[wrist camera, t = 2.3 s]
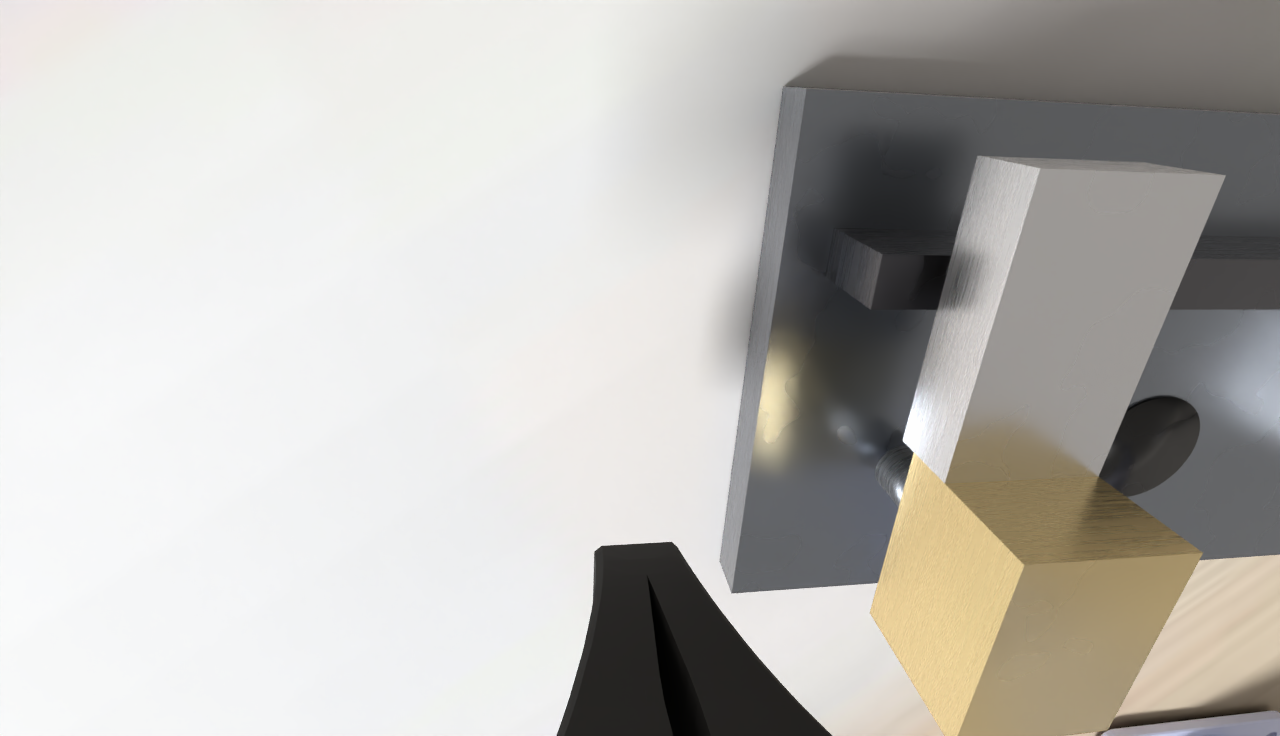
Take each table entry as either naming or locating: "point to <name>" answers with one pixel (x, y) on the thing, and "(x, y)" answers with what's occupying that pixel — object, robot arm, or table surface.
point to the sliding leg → (1037, 450)
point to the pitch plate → (908, 300)
